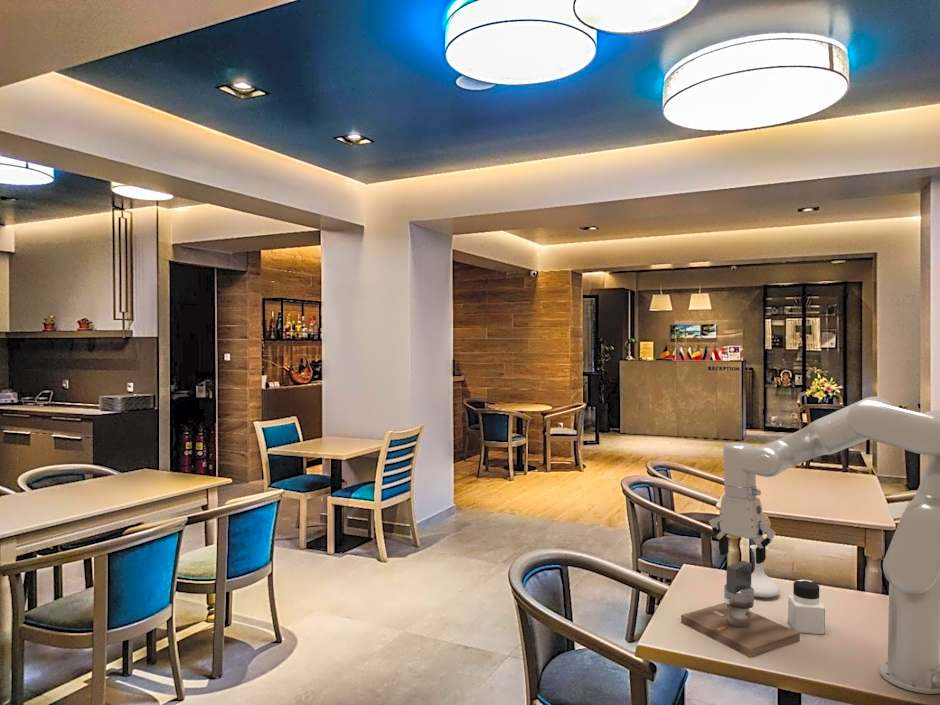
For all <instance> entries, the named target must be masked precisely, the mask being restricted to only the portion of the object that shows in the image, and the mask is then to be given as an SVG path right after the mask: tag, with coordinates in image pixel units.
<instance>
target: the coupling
mask: <svg viewBox="0 0 940 705" xmlns="http://www.w3.org/2000/svg"><path fill="white" fill-rule="evenodd" d="M751 574H752V562H749V561H747V560H741V561H738V562H736V563H733V564H730V565H727V566H726V584H724V589H723V590H724V597H723V598H724V600H723V601H724V602H723V603H725V604H727V605H728V606H731V607H734V608H739V609H749V610H750V609H751V608H753V607H754V602H755V600H754V597H755V596H754V589H753V588H752V587H751Z"/></svg>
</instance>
